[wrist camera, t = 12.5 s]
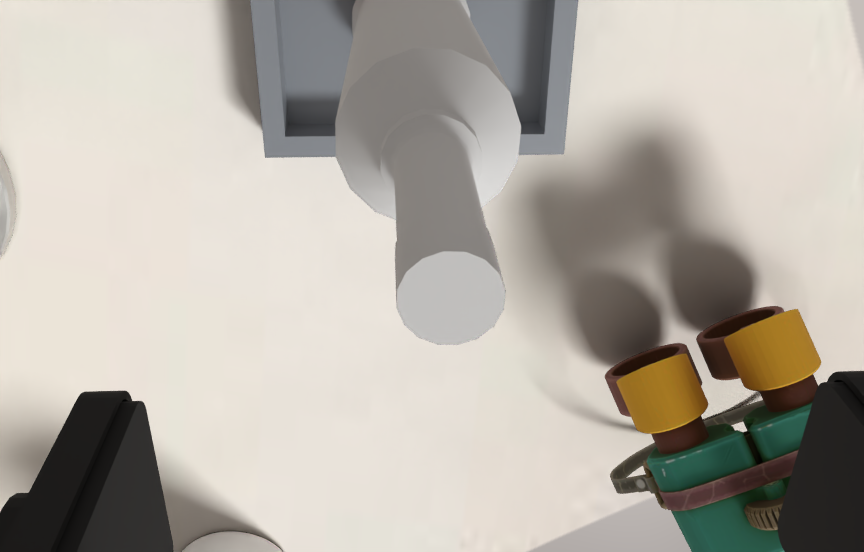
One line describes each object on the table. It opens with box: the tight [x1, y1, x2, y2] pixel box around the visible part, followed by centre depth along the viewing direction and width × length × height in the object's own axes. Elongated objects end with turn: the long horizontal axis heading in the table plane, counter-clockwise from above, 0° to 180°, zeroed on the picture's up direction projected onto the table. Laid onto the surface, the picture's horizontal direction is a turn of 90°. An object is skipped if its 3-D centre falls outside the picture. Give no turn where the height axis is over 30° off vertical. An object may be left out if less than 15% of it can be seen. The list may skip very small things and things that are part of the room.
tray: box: [250, 0, 578, 158], centre depth 37 cm, size 12×14×2 cm
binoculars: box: [605, 306, 821, 552], centre depth 43 cm, size 14×14×15 cm
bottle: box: [335, 0, 521, 345], centre depth 26 cm, size 5×5×25 cm
